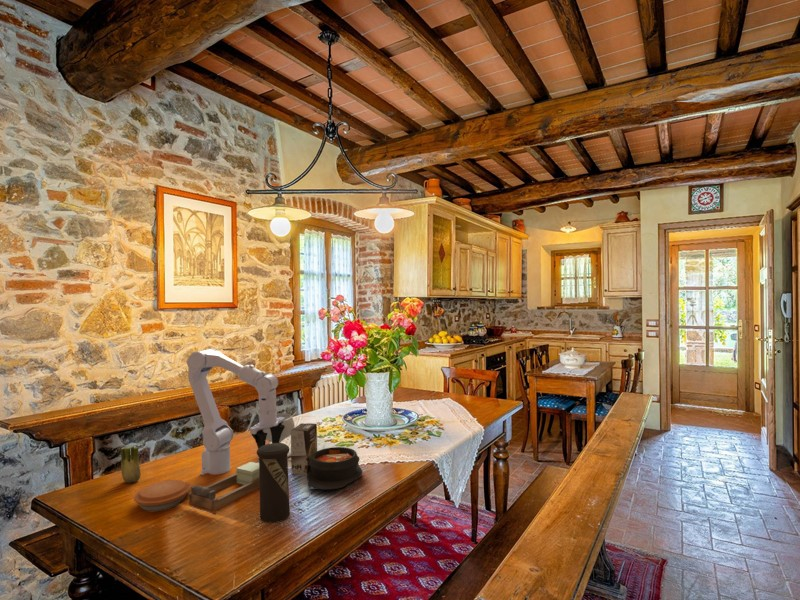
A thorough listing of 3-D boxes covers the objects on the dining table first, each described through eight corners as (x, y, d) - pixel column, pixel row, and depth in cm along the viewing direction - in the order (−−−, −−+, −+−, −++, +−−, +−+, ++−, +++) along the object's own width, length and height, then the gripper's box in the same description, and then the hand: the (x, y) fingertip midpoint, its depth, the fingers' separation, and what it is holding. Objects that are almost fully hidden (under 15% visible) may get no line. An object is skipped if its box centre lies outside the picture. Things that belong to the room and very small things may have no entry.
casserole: (320, 463, 164) (319, 441, 164) (369, 465, 161) (368, 442, 161) (294, 494, 139) (294, 467, 139) (352, 496, 137) (351, 469, 137)
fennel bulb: (119, 482, 151) (118, 447, 151) (133, 477, 155) (132, 443, 155) (129, 485, 148) (128, 450, 148) (143, 480, 153) (142, 445, 153)
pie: (161, 519, 126) (160, 501, 126) (121, 511, 131) (121, 494, 131) (202, 495, 140) (202, 479, 140) (165, 489, 146) (165, 473, 145)
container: (274, 526, 120) (272, 453, 120) (251, 518, 125) (249, 447, 124) (297, 513, 127) (295, 443, 127) (275, 505, 132) (273, 438, 132)
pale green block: (236, 483, 146) (236, 468, 146) (251, 476, 151) (250, 461, 151) (252, 487, 142) (251, 471, 142) (266, 480, 148) (266, 465, 148)
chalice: (250, 458, 171) (249, 419, 171) (277, 447, 183) (276, 410, 183) (275, 464, 164) (274, 424, 164) (302, 452, 176) (301, 415, 176)
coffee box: (308, 477, 152) (307, 430, 151) (290, 476, 153) (289, 430, 153) (318, 467, 160) (317, 423, 160) (301, 466, 162) (300, 422, 162)
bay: (187, 507, 132) (186, 485, 132) (251, 476, 154) (250, 457, 154) (213, 515, 127) (212, 492, 127) (275, 482, 149) (274, 463, 149)
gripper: (260, 416, 145) (261, 457, 145) (291, 406, 158) (292, 444, 158) (245, 414, 149) (246, 454, 149) (276, 404, 161) (277, 441, 162)
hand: (268, 448), depth 154 cm, fingers open, 6 cm apart
